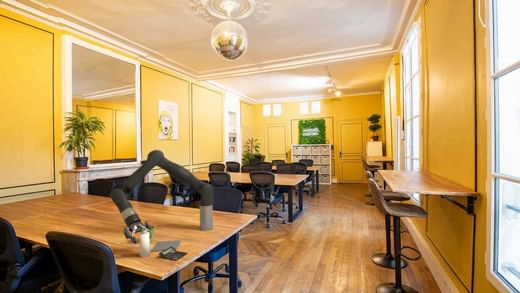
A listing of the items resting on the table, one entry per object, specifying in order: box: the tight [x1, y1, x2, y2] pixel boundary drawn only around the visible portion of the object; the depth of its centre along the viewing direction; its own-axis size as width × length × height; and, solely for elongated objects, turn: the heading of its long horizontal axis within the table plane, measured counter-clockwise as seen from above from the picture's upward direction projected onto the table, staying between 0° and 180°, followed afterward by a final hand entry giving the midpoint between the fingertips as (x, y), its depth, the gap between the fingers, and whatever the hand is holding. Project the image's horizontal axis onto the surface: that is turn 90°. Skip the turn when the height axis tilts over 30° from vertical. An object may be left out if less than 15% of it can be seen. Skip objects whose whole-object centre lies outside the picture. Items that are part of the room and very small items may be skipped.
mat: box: [150, 239, 182, 253], centre depth 146 cm, size 14×14×1 cm
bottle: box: [138, 230, 151, 258], centre depth 134 cm, size 5×5×14 cm
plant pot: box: [140, 225, 157, 243], centre depth 154 cm, size 9×9×9 cm
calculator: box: [158, 246, 188, 262], centre depth 133 cm, size 9×12×3 cm
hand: (143, 240), depth 134 cm, fingers open, 8 cm apart
